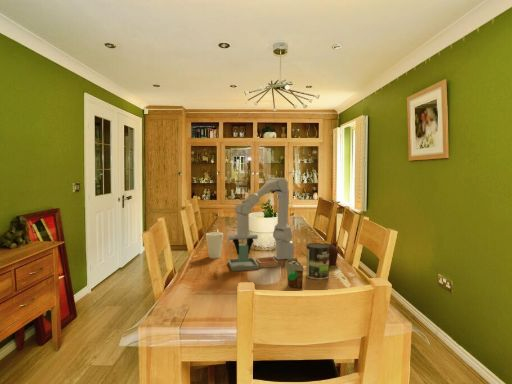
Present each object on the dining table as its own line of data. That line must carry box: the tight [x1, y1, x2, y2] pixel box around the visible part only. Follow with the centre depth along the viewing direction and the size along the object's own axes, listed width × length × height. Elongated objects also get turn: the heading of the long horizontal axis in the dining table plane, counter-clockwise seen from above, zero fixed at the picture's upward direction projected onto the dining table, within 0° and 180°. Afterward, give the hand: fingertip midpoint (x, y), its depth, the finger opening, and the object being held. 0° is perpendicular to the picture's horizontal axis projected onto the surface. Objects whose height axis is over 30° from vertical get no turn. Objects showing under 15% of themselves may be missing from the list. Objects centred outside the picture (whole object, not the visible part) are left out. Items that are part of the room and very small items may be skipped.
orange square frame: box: [255, 256, 279, 269], centre depth 171 cm, size 9×9×2 cm
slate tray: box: [227, 257, 260, 272], centre depth 168 cm, size 13×14×2 cm
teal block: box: [237, 243, 249, 262], centre depth 168 cm, size 4×4×8 cm
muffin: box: [325, 243, 339, 267], centre depth 172 cm, size 12×11×10 cm
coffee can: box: [305, 242, 330, 281], centre depth 152 cm, size 10×10×14 cm
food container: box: [284, 257, 304, 290], centre depth 140 cm, size 12×6×10 cm, turn 5°
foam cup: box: [205, 231, 224, 259], centre depth 185 cm, size 10×9×13 cm
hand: (243, 253), depth 168 cm, fingers closed on teal block, 4 cm apart
